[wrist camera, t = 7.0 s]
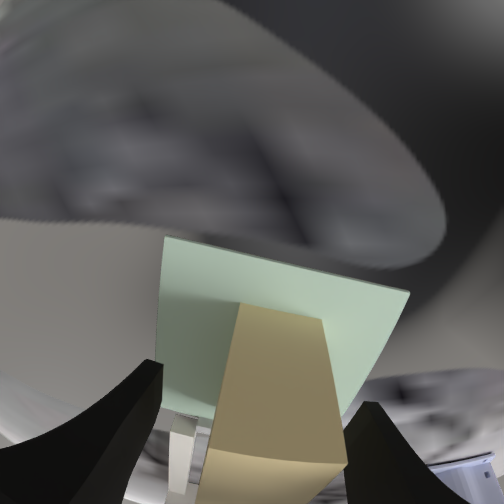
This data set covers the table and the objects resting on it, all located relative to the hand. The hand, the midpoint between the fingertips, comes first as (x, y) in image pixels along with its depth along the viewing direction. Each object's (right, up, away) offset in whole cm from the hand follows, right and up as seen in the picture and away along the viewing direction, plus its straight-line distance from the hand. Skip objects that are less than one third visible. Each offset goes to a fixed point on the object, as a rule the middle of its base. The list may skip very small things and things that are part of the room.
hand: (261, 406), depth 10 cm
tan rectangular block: (0, +1, +2) cm, 2 cm away
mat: (0, +1, +2) cm, 2 cm away
